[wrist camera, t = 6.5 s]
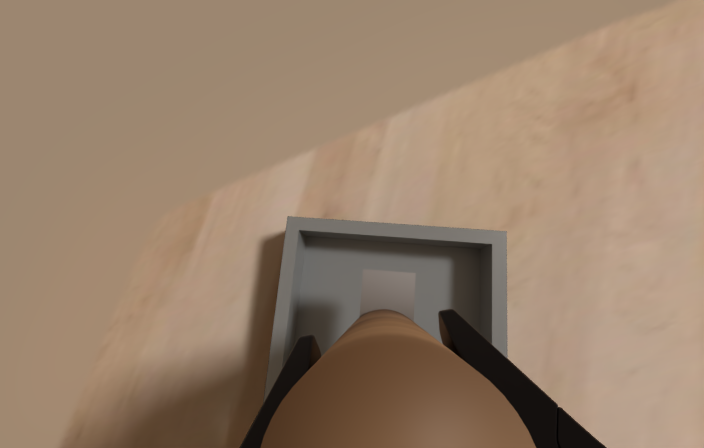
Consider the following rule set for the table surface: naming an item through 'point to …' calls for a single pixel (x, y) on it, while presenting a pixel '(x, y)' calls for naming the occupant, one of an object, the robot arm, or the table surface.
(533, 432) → the robot arm
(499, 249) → the tray
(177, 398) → the table surface
